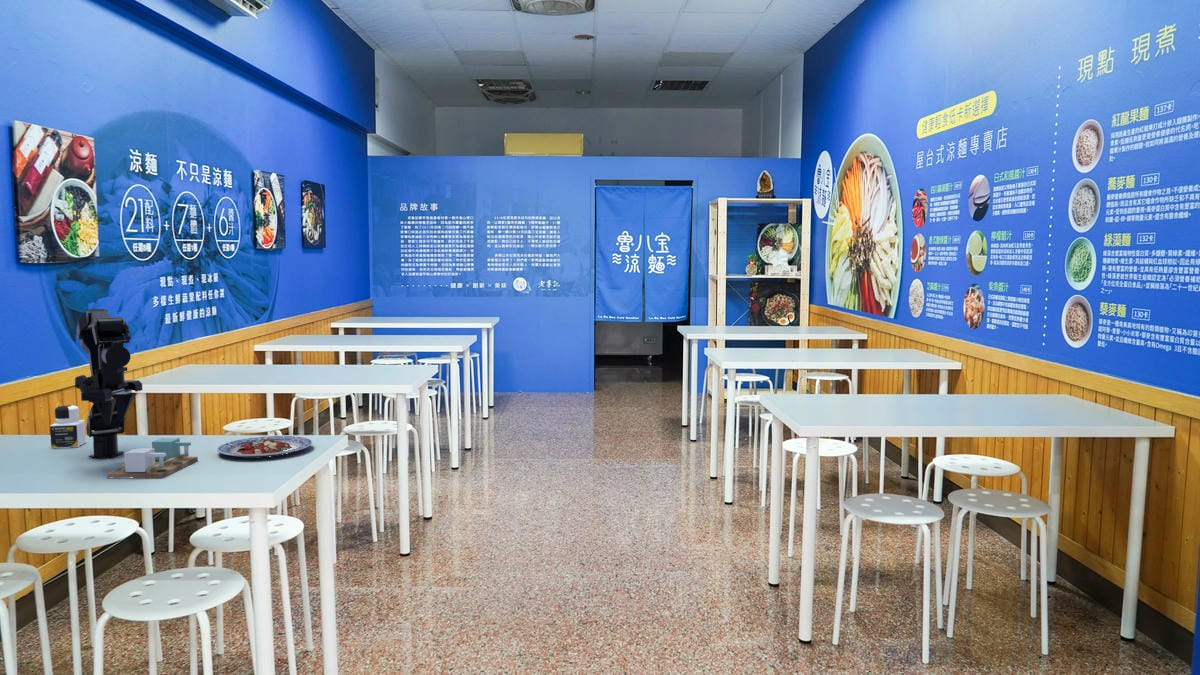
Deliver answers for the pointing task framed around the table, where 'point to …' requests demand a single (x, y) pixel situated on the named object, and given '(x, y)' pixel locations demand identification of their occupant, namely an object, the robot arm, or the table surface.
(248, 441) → the ceramic plate
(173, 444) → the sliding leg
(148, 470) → the board
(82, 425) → the medicine bottle
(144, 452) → the fixed leg
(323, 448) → the table surface
